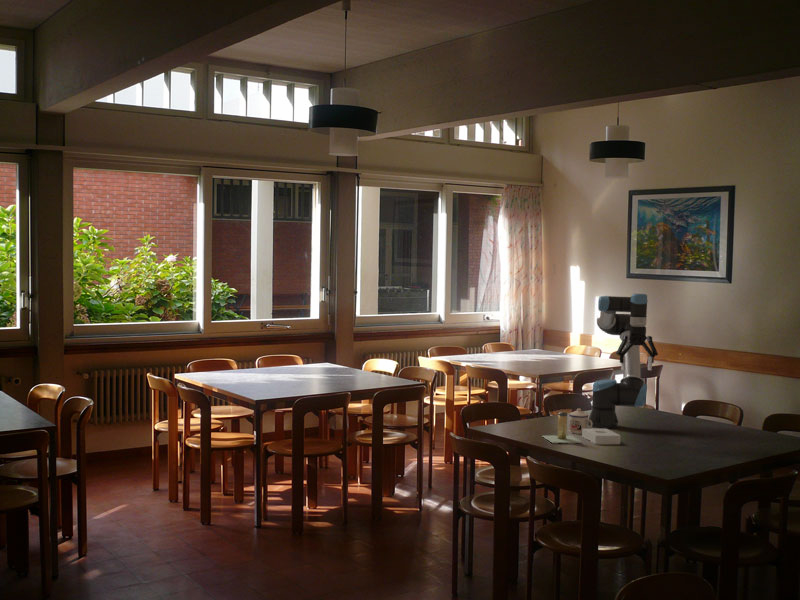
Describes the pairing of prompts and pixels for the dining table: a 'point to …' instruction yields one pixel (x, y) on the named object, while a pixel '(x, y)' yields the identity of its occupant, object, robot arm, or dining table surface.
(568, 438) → the mat
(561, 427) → the yellow tall cylinder
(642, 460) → the dining table surface
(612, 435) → the white flat block
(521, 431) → the dining table surface
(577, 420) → the teacup with lid
